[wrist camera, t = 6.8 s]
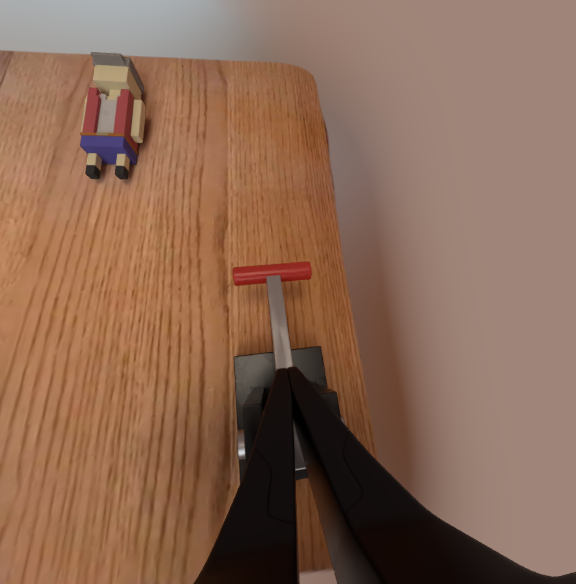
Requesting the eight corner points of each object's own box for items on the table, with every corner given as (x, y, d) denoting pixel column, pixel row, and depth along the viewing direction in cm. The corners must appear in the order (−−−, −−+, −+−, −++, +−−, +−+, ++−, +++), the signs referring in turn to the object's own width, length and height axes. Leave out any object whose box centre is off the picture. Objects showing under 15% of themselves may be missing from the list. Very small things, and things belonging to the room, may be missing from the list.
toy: (58, 160, 23) (78, 42, 26) (90, 187, 27) (104, 83, 30) (123, 161, 23) (136, 46, 26) (145, 188, 27) (154, 85, 30)
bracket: (235, 356, 22) (210, 352, 12) (318, 346, 23) (353, 335, 13) (242, 482, 19) (216, 600, 10) (336, 465, 20) (397, 557, 10)
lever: (236, 277, 19) (231, 259, 17) (306, 271, 20) (310, 254, 18) (242, 471, 13) (236, 481, 11) (343, 453, 14) (356, 459, 12)
